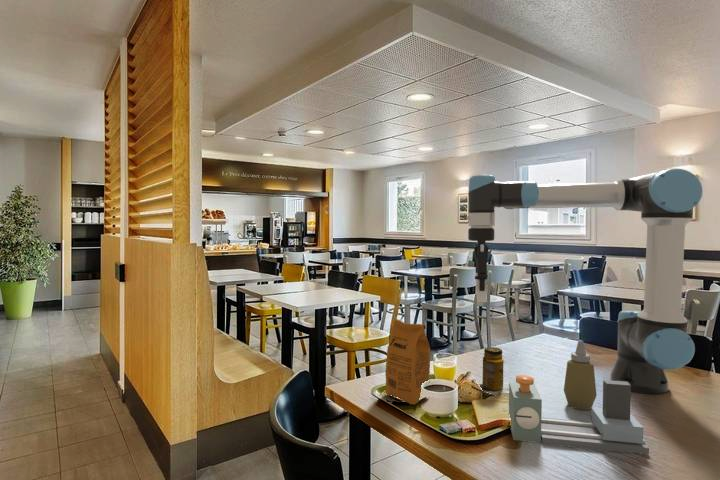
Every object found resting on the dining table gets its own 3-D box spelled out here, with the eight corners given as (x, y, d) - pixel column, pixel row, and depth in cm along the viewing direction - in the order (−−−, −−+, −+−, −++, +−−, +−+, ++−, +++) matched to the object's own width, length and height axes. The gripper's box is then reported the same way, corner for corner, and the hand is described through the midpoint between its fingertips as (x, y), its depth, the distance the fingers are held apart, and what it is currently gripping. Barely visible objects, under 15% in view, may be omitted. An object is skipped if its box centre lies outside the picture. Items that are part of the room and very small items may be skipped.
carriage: (627, 425, 105) (628, 377, 105) (643, 443, 96) (644, 391, 96) (591, 421, 107) (592, 374, 106) (603, 439, 98) (604, 388, 97)
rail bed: (629, 431, 106) (629, 422, 106) (648, 454, 95) (649, 445, 95) (534, 422, 111) (534, 414, 110) (542, 443, 100) (542, 434, 100)
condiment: (509, 389, 133) (509, 350, 132) (490, 395, 128) (491, 354, 128) (490, 382, 139) (490, 344, 138) (471, 387, 134) (471, 348, 134)
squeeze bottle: (595, 414, 115) (596, 346, 114) (561, 407, 119) (562, 342, 119) (597, 403, 122) (598, 339, 121) (565, 397, 126) (566, 335, 126)
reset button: (532, 389, 107) (532, 375, 107) (534, 395, 103) (535, 381, 103) (514, 388, 108) (514, 374, 108) (516, 394, 104) (517, 380, 104)
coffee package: (402, 386, 135) (403, 315, 134) (434, 398, 126) (435, 322, 125) (379, 394, 128) (379, 320, 128) (411, 408, 119) (411, 327, 118)
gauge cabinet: (533, 423, 110) (534, 383, 110) (541, 443, 100) (542, 400, 99) (508, 420, 111) (509, 382, 111) (513, 441, 101) (514, 398, 101)
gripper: (467, 227, 144) (467, 291, 145) (468, 227, 120) (468, 305, 121) (491, 227, 143) (491, 292, 143) (497, 227, 118) (496, 306, 119)
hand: (480, 298), depth 132 cm, fingers open, 13 cm apart
